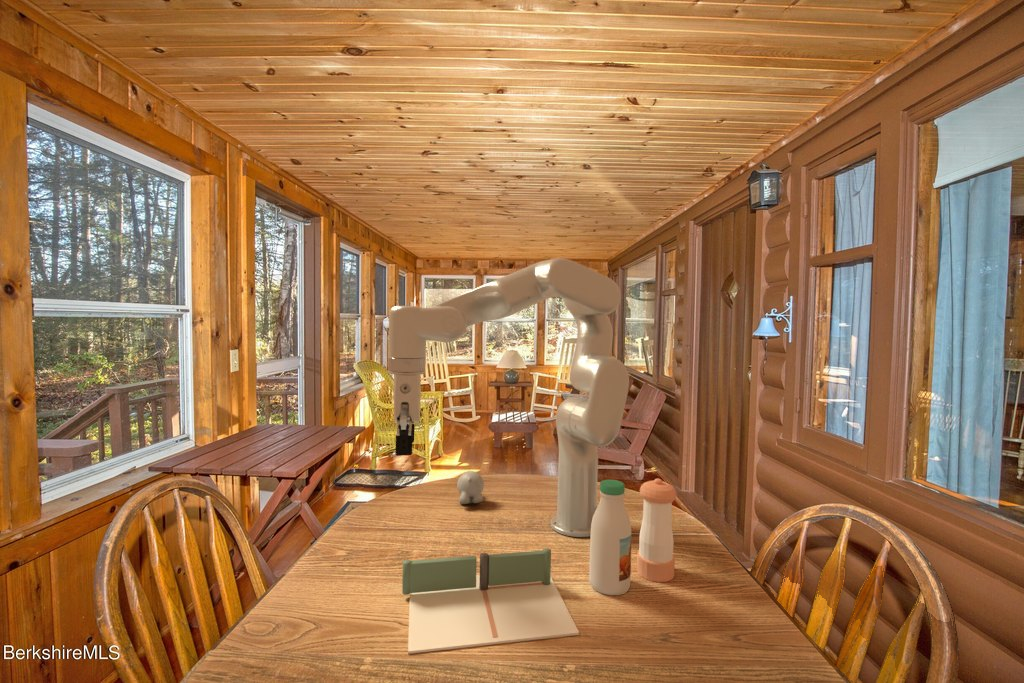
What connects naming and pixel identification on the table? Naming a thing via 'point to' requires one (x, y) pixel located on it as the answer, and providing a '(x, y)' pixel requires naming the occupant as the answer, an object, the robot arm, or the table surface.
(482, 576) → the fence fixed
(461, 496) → the chubby cartoon animal
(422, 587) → the fence panel
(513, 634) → the card
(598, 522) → the milk bottle
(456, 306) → the robot arm
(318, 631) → the table surface
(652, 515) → the salt shaker
